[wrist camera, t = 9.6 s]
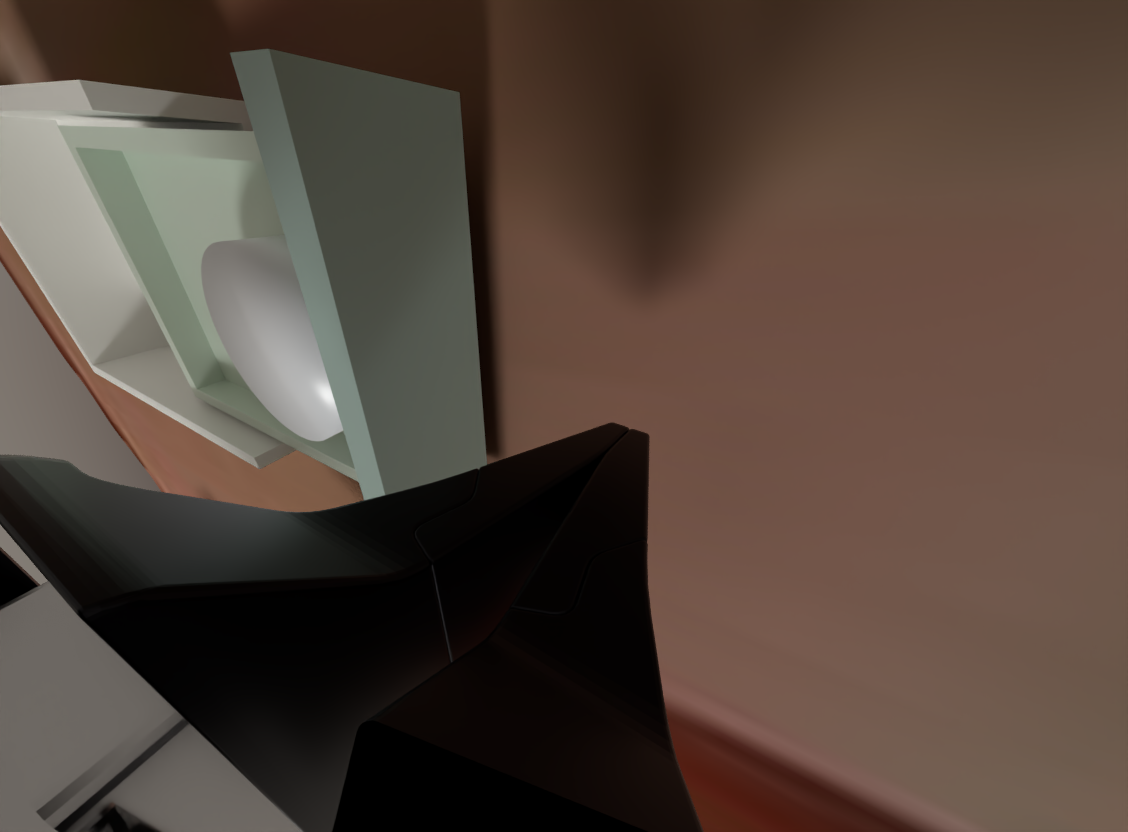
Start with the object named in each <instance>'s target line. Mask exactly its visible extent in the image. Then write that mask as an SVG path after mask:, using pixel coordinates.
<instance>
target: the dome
mask: <svg viewBox="0 0 1128 832" xmlns="http://www.w3.org/2000/svg"><path fill="white" fill-rule="evenodd" d="M201 278H202V286H203V291H204V295H205V299H206V303H207V306H208V310H209V312H210V315H211V318H212V321H213V323H214V326H215V328H216V331H217V333H218V335H219V337H220V339H221V341H222V344H223V345H224V347H225V349H226V351H227V353H228V355H229V357H230V358H231V360H232V362H233V364H234V365H235V367H236V369H237V370H238V372H239V373H240V375H241V376H242V378H243V379H244V381H245V382H246V384H247V385H248V387H249V388H250V389H251V391H252V392H253V393H254V395H255V396H256V397H257V398H258V399H259V401H260V402H261V403H262V404H263V405H264V406H265V408H266V409H267V410H268V411H269V412H270V413H271V414H272V415H273V416H274V417H275V418H276V419H277V420H278V421H279V422H281V423H282V424H283V425H284V426H285V427H287V428H288V429H289V430H291V431H292V432H294V433H295V434H297V435H299V436H300V437H303V438H305V439H307V440H311V441H324V440H326V439H328V438H330V437H332V436H334V435H336V434H338V433H339V432H341V431H343V427H342V424H341V421H340V418H339V414H338V411H337V408H336V404H335V401H334V398H333V394H332V391H331V388H330V384H329V381H328V378H327V374H326V371H325V368H324V364H323V361H322V358H321V354H320V351H319V348H318V344H317V341H316V338H315V334H314V331H313V328H312V324H311V321H310V318H309V314H308V311H307V308H306V304H305V301H304V298H303V294H302V291H301V288H300V284H299V281H298V278H297V275H296V271H295V268H294V265H293V261H292V258H291V255H290V251H289V248H288V245H287V241H286V238H285V235H278V236H268V237H259V238H249V239H239V240H229V241H219V242H215V243H212V244H211V245H209V246H208V247H207V249H206V250H205V252H204V254H203V258H202V264H201Z"/></svg>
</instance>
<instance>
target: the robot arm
mask: <svg viewBox="0 0 1128 832" xmlns="http://www.w3.org/2000/svg"><path fill="white" fill-rule="evenodd" d="M648 486H649V435H648V434H647V433H644V432H641V431H638V430H635V429H630V430H629V428H628V427H625V426H622V425H619V424H616V423H608V424H605V425H602V426H599V427H596V428H593V429H591V430H588V431H585V432H582V433H579V434H576V435H573V436H570V437H567V438H564V439H561V440H558V441H555V442H552V443H549V444H546V445H543V446H541V447H538V448H535V449H532V450H529V451H526V452H523V453H520V454H517V455H514V456H511V457H508V458H505V459H502V460H499V461H496V462H493V463H490V464H488V465H485V466H482V467H480V468H479V469H477V468H475V469H473V470H470V471H467V472H464V473H461V474H458V475H455V476H451V477H448V478H445V479H442V480H439V481H436V482H432V483H428V484H425V485H421V486H418V487H414V488H410V489H407V490H403V491H399V492H395V493H391V494H387V495H383V496H379V497H375V498H372V499H368V500H364V501H360V502H356V503H352V504H348V505H344V506H340V507H336V508H332V509H327V510H322V511H314V512H284V511H276V510H270V509H264V508H258V507H251V506H245V505H239V504H233V503H226V502H220V501H214V500H208V499H202V498H195V497H189V496H183V495H177V494H171V493H164V492H157V491H151V490H145V489H140V488H135V487H129V486H124V485H119V484H115V483H111V482H107V481H103V480H99V479H97V478H94V477H91V476H88V475H87V474H85V473H83V472H81V471H80V470H79V469H78V468H77V467H75V466H74V465H73V464H71V463H70V462H68V461H65V460H59V459H51V458H42V457H34V456H23V455H22V456H21V455H0V524H1V526H2V527H3V528H4V529H5V530H6V531H7V533H8V534H9V535H10V536H11V537H12V539H13V540H14V541H15V542H16V543H17V545H19V547H20V548H21V549H22V550H23V552H24V553H25V554H26V555H27V556H28V557H29V559H30V560H31V561H32V562H33V563H34V565H35V566H36V567H37V568H38V569H39V570H40V572H41V573H42V574H43V575H44V576H45V578H46V579H47V580H48V582H46V583H44V584H42V585H40V584H39V583H37V582H36V581H35V580H34V579H33V578H32V577H31V576H30V575H29V574H28V573H27V572H26V571H25V570H24V569H23V568H22V567H21V566H19V564H18V563H16V562H15V561H14V560H13V559H12V558H11V557H10V556H9V555H8V554H7V553H6V552H5V551H4V550H3V549H2V548H1V547H0V832H703V829H702V826H701V823H700V821H699V818H698V815H697V813H696V810H695V807H694V805H693V802H692V799H691V796H690V794H689V791H688V788H687V786H686V783H685V780H684V778H683V775H682V772H681V769H680V767H679V764H678V761H677V758H676V754H675V750H674V746H673V742H672V738H671V734H670V729H669V724H668V719H667V714H666V709H665V703H664V697H663V691H662V684H661V677H660V671H659V664H658V657H657V651H656V644H655V637H654V631H653V624H652V617H651V608H650V599H649V590H648V569H647V550H648V544H647V539H648Z"/></svg>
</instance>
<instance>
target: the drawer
mask: <svg viewBox="0 0 1128 832" xmlns="http://www.w3.org/2000/svg"><path fill="white" fill-rule="evenodd" d="M230 55H231V58H232V62H233V65H234V68H235V72H236V75H237V78H238V82H239V85H240V88H241V92H242V95H243V98H244V102H245V105H246V108H247V112H248V115H249V118H250V122H251V125H252V128H253V131H228V130H195V129H162V128H129V127H96V126H63V125H57V126H58V128H59V130H60V132H61V134H62V136H63V138H64V140H65V142H66V144H67V146H68V148H69V150H70V152H71V153H72V155H73V157H74V159H75V161H76V163H77V165H78V167H79V169H80V171H81V173H82V175H83V177H84V179H85V181H86V183H87V185H88V187H89V189H90V191H91V193H92V195H93V197H94V199H95V200H96V202H97V204H98V206H99V208H100V210H101V212H102V214H103V216H104V218H105V220H106V222H107V224H108V226H109V228H110V230H111V232H112V234H113V236H114V238H115V240H116V242H117V244H118V246H119V247H120V249H121V251H122V253H123V255H124V257H125V259H126V261H127V263H128V265H129V267H130V269H131V271H132V273H133V275H134V277H135V279H136V281H137V283H138V285H139V287H140V289H141V291H142V293H143V294H144V296H145V298H146V300H147V302H148V304H149V306H150V308H151V310H152V312H153V314H154V316H155V318H156V320H157V322H158V324H159V326H160V328H161V330H162V332H163V334H164V336H165V338H166V340H167V341H168V343H169V345H170V347H171V349H172V351H173V353H174V355H175V357H176V359H177V361H178V363H179V365H180V367H181V369H182V371H183V373H184V375H185V377H186V379H187V381H188V383H189V385H190V387H191V388H192V390H193V392H194V394H195V396H196V397H197V398H199V399H201V400H203V401H204V402H206V403H208V404H210V405H212V406H214V407H216V408H218V409H220V410H222V411H224V412H226V413H227V414H229V415H231V416H233V417H235V418H237V419H239V420H241V421H243V422H245V423H247V424H248V425H250V426H252V427H254V428H256V429H258V430H260V431H262V432H264V433H266V434H268V435H270V436H271V437H273V438H275V439H277V440H279V441H281V442H283V443H285V444H287V445H289V446H291V447H293V448H294V449H296V450H298V451H300V452H302V453H304V454H306V455H308V456H310V457H312V458H314V459H315V460H317V461H319V462H321V463H323V464H325V465H327V466H329V467H331V468H333V469H335V470H337V471H338V472H340V473H342V474H344V475H346V476H348V477H350V478H352V479H354V480H356V481H358V482H359V484H360V487H361V491H362V494H363V497H364V500H368V499H372V498H375V497H379V496H383V495H387V494H391V493H395V492H399V491H403V490H407V489H410V488H414V487H418V486H421V485H425V484H428V483H432V482H436V481H439V480H442V479H445V478H448V477H451V476H455V475H458V474H461V473H464V472H467V471H470V470H473V469H475V468H477V469H479V468H480V467H482V466H485V465H487V458H486V444H485V431H484V417H483V404H482V390H481V376H480V363H479V349H478V336H477V322H476V308H475V295H474V281H473V268H472V254H471V240H470V227H469V213H468V200H467V186H466V173H465V159H464V145H463V132H462V118H461V105H460V92H456V91H452V90H447V89H443V88H439V87H434V86H430V85H426V84H421V83H417V82H412V81H408V80H404V79H399V78H395V77H391V76H386V75H382V74H378V73H373V72H369V71H364V70H360V69H356V68H351V67H347V66H343V65H338V64H334V63H330V62H325V61H321V60H316V59H312V58H308V57H303V56H299V55H295V54H290V53H286V52H282V51H277V50H273V49H260V50H251V51H241V52H232V53H230ZM278 235H285V238H286V241H287V245H288V248H289V251H290V255H291V258H292V261H293V265H294V268H295V271H296V275H297V278H298V281H299V284H300V288H301V291H302V294H303V298H304V301H305V304H306V308H307V311H308V314H309V318H310V321H311V324H312V328H313V331H314V334H315V338H316V341H317V344H318V348H319V351H320V354H321V358H322V361H323V364H324V368H325V371H326V374H327V378H328V381H329V384H330V388H331V391H332V394H333V398H334V401H335V404H336V408H337V411H338V414H339V418H340V421H341V424H342V427H343V431H341V432H339V433H338V434H336V435H334V436H332V437H330V438H328V439H326V440H324V441H311V440H307V439H305V438H303V437H300V436H299V435H297V434H295V433H294V432H292V431H291V430H289V429H288V428H287V427H285V426H284V425H283V424H282V423H281V422H279V421H278V420H277V419H276V418H275V417H274V416H273V415H272V414H271V413H270V412H269V411H268V410H267V409H266V408H265V406H264V405H263V404H262V403H261V402H260V401H259V399H258V398H257V397H256V396H255V395H254V393H253V392H252V391H251V389H250V388H249V387H248V385H247V384H246V382H245V381H244V379H243V378H242V376H241V375H240V373H239V372H238V370H237V369H236V367H235V365H234V364H233V362H232V360H231V358H230V357H229V355H228V353H227V351H226V349H225V347H224V345H223V344H222V341H221V339H220V337H219V335H218V333H217V331H216V328H215V326H214V323H213V321H212V318H211V315H210V312H209V310H208V306H207V303H206V299H205V295H204V291H203V286H202V278H201V264H202V258H203V254H204V252H205V250H206V249H207V247H208V246H209V245H211V244H212V243H215V242H219V241H229V240H239V239H249V238H259V237H268V236H278Z"/></svg>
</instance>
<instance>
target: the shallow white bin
mask: <svg viewBox="0 0 1128 832" xmlns="http://www.w3.org/2000/svg"><path fill="white" fill-rule="evenodd" d="M57 125H63V126H96V127H129V128H162V129H195V130H228V131H253V128H252V125H251V122H250V118H249V115H248V112H247V108H246V105H245V102H244V101H241V100H233V99H225V98H217V97H210V96H202V95H194V94H186V93H179V92H171V91H163V90H155V89H147V88H140V87H132V86H124V85H116V84H109V83H101V82H93V81H85V80H68V81H55V82H42V83H30V84H17V85H4V86H0V226H1V228H2V229H3V231H4V232H5V234H6V235H7V237H8V238H9V240H10V242H11V243H12V245H13V246H14V248H15V249H16V251H17V253H18V254H19V256H20V257H21V259H22V260H23V262H24V263H25V265H26V267H27V268H28V270H29V271H30V273H31V274H32V276H33V277H34V279H35V281H36V282H37V284H38V285H39V287H40V288H41V290H42V291H43V293H44V295H45V296H46V298H47V299H48V301H49V302H50V304H51V306H52V307H53V309H54V310H55V312H56V313H57V315H58V316H59V318H60V320H61V321H62V323H63V324H64V326H65V327H66V329H67V330H68V332H69V334H70V335H71V337H72V338H73V340H74V341H75V343H76V344H77V346H78V348H79V349H80V351H81V352H82V354H83V355H84V357H85V359H86V360H87V362H88V363H89V365H90V366H91V368H92V369H93V371H94V372H95V373H96V374H98V375H100V376H101V377H103V378H105V379H107V380H108V381H110V382H112V383H113V384H115V385H117V386H119V387H120V388H122V389H124V390H125V391H127V392H129V393H130V394H132V395H134V396H136V397H137V398H139V399H141V400H142V401H144V402H146V403H148V404H149V405H151V406H153V407H154V408H156V409H158V410H159V411H161V412H163V413H165V414H166V415H168V416H170V417H171V418H173V419H175V420H176V421H178V422H180V423H182V424H183V425H185V426H187V427H188V428H190V429H192V430H194V431H195V432H197V433H199V434H200V435H202V436H204V437H205V438H207V439H209V440H211V441H212V442H214V443H216V444H217V445H219V446H221V447H223V448H224V449H226V450H228V451H229V452H231V453H233V454H234V455H236V456H238V457H240V458H241V459H243V460H245V461H246V462H248V463H250V464H252V465H253V466H255V467H257V468H258V469H261V468H263V467H265V466H267V465H269V464H271V463H273V462H275V461H277V460H278V459H280V458H282V457H284V456H286V455H288V454H290V453H292V452H294V451H296V449H294V448H293V447H291V446H289V445H287V444H285V443H283V442H281V441H279V440H277V439H275V438H273V437H271V436H270V435H268V434H266V433H264V432H262V431H260V430H258V429H256V428H254V427H252V426H250V425H248V424H247V423H245V422H243V421H241V420H239V419H237V418H235V417H233V416H231V415H229V414H227V413H226V412H224V411H222V410H220V409H218V408H216V407H214V406H212V405H210V404H208V403H206V402H204V401H203V400H201V399H199V398H197V397H196V396H195V394H194V392H193V390H192V388H191V387H190V385H189V383H188V381H187V379H186V377H185V375H184V373H183V371H182V369H181V367H180V365H179V363H178V361H177V359H176V357H175V355H174V353H173V351H172V349H171V347H170V345H169V343H168V341H167V340H166V338H165V336H164V334H163V332H162V330H161V328H160V326H159V324H158V322H157V320H156V318H155V316H154V314H153V312H152V310H151V308H150V306H149V304H148V302H147V300H146V298H145V296H144V294H143V293H142V291H141V289H140V287H139V285H138V283H137V281H136V279H135V277H134V275H133V273H132V271H131V269H130V267H129V265H128V263H127V261H126V259H125V257H124V255H123V253H122V251H121V249H120V247H119V246H118V244H117V242H116V240H115V238H114V236H113V234H112V232H111V230H110V228H109V226H108V224H107V222H106V220H105V218H104V216H103V214H102V212H101V210H100V208H99V206H98V204H97V202H96V200H95V199H94V197H93V195H92V193H91V191H90V189H89V187H88V185H87V183H86V181H85V179H84V177H83V175H82V173H81V171H80V169H79V167H78V165H77V163H76V161H75V159H74V157H73V155H72V153H71V152H70V150H69V148H68V146H67V144H66V142H65V140H64V138H63V136H62V134H61V132H60V130H59V128H58V126H57Z"/></svg>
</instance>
